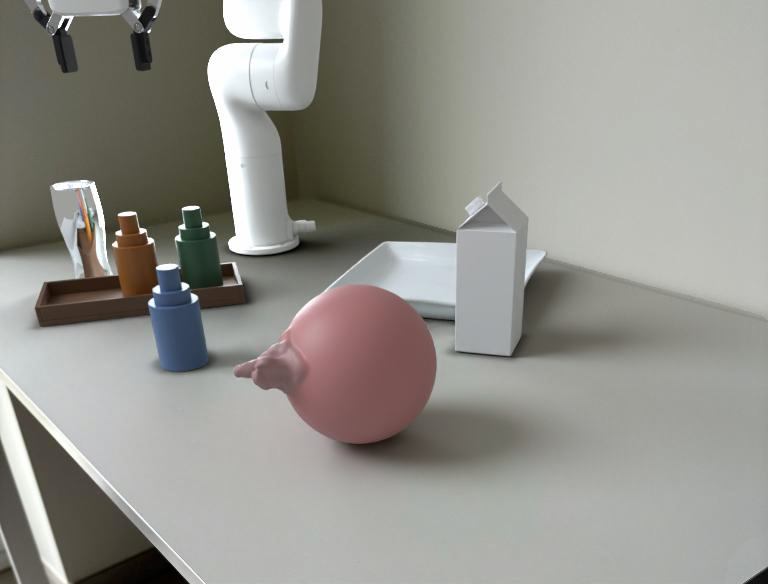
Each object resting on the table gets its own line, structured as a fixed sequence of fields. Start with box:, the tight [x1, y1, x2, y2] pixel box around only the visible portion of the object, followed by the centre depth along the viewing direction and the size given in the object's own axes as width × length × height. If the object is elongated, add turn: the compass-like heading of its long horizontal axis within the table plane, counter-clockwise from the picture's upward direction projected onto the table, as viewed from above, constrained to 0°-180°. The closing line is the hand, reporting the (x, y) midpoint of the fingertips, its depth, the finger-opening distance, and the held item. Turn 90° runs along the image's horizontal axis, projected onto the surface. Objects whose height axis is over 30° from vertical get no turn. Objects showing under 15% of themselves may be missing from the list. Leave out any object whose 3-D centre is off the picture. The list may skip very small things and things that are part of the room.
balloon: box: [232, 284, 438, 445], centre depth 78 cm, size 15×20×15 cm
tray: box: [34, 261, 246, 327], centre depth 120 cm, size 29×12×3 cm, turn 104°
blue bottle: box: [148, 263, 210, 373], centre depth 97 cm, size 6×6×12 cm
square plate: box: [322, 241, 548, 321], centre depth 118 cm, size 27×27×4 cm
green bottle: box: [174, 205, 224, 289], centre depth 119 cm, size 6×6×12 cm
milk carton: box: [454, 180, 529, 357], centre depth 97 cm, size 7×7×19 cm
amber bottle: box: [111, 211, 160, 297], centre depth 117 cm, size 6×6×12 cm
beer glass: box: [49, 179, 114, 279], centre depth 126 cm, size 7×7×15 cm
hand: (107, 71), depth 99 cm, fingers open, 9 cm apart
